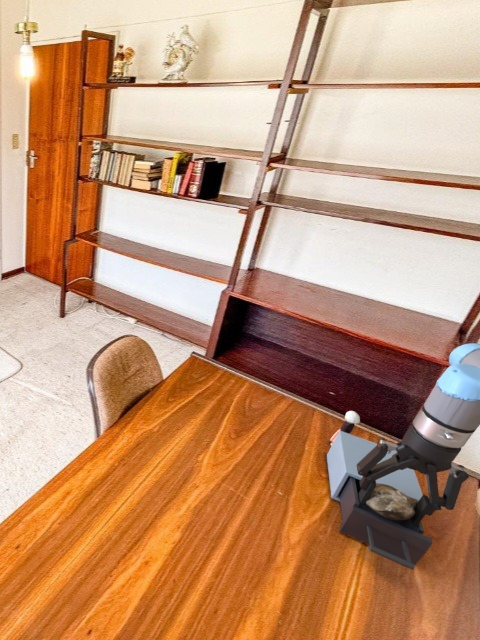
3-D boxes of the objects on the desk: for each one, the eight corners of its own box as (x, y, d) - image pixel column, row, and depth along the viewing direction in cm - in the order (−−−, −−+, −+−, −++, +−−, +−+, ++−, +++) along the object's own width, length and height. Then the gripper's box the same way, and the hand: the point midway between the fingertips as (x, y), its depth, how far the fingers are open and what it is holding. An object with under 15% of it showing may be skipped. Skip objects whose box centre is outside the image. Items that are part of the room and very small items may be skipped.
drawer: (423, 592, 80) (442, 570, 77) (342, 555, 86) (356, 532, 83) (400, 511, 96) (415, 489, 93) (334, 484, 102) (345, 463, 99)
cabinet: (406, 529, 93) (425, 502, 89) (331, 498, 99) (346, 471, 95) (392, 480, 105) (408, 454, 101) (326, 455, 112) (339, 430, 107)
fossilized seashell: (393, 522, 82) (430, 525, 84) (390, 488, 83) (427, 492, 85) (356, 509, 89) (390, 512, 91) (354, 478, 91) (388, 481, 92)
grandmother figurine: (333, 435, 118) (349, 403, 113) (348, 443, 116) (366, 410, 110) (324, 448, 114) (341, 415, 108) (340, 456, 111) (358, 423, 106)
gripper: (372, 424, 80) (330, 498, 90) (521, 474, 70) (456, 551, 80) (367, 402, 86) (328, 474, 96) (503, 446, 76) (444, 520, 86)
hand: (386, 509), depth 88 cm, fingers closed on fossilized seashell, 8 cm apart
